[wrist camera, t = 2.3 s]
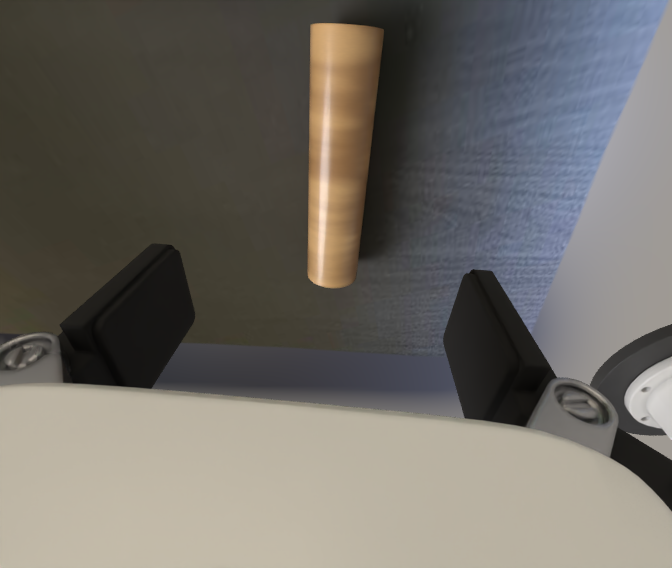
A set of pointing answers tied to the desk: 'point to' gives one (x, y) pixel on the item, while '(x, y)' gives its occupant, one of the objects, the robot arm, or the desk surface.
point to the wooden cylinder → (339, 145)
